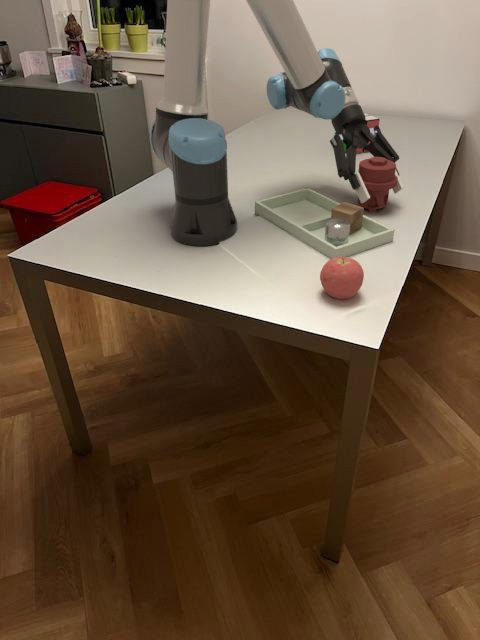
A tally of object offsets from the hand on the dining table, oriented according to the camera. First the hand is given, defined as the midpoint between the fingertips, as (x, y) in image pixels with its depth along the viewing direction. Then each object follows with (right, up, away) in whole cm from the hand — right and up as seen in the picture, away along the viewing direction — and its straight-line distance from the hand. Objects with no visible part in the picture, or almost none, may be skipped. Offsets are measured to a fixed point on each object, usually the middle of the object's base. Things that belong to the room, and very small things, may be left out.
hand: (382, 195), depth 117 cm
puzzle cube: (+4, +26, +45) cm, 53 cm away
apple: (-16, -25, -27) cm, 40 cm away
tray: (-16, -8, -3) cm, 18 cm away
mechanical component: (-1, -2, +5) cm, 6 cm away
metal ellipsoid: (-13, -14, -12) cm, 22 cm away
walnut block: (-10, -9, -5) cm, 14 cm away
